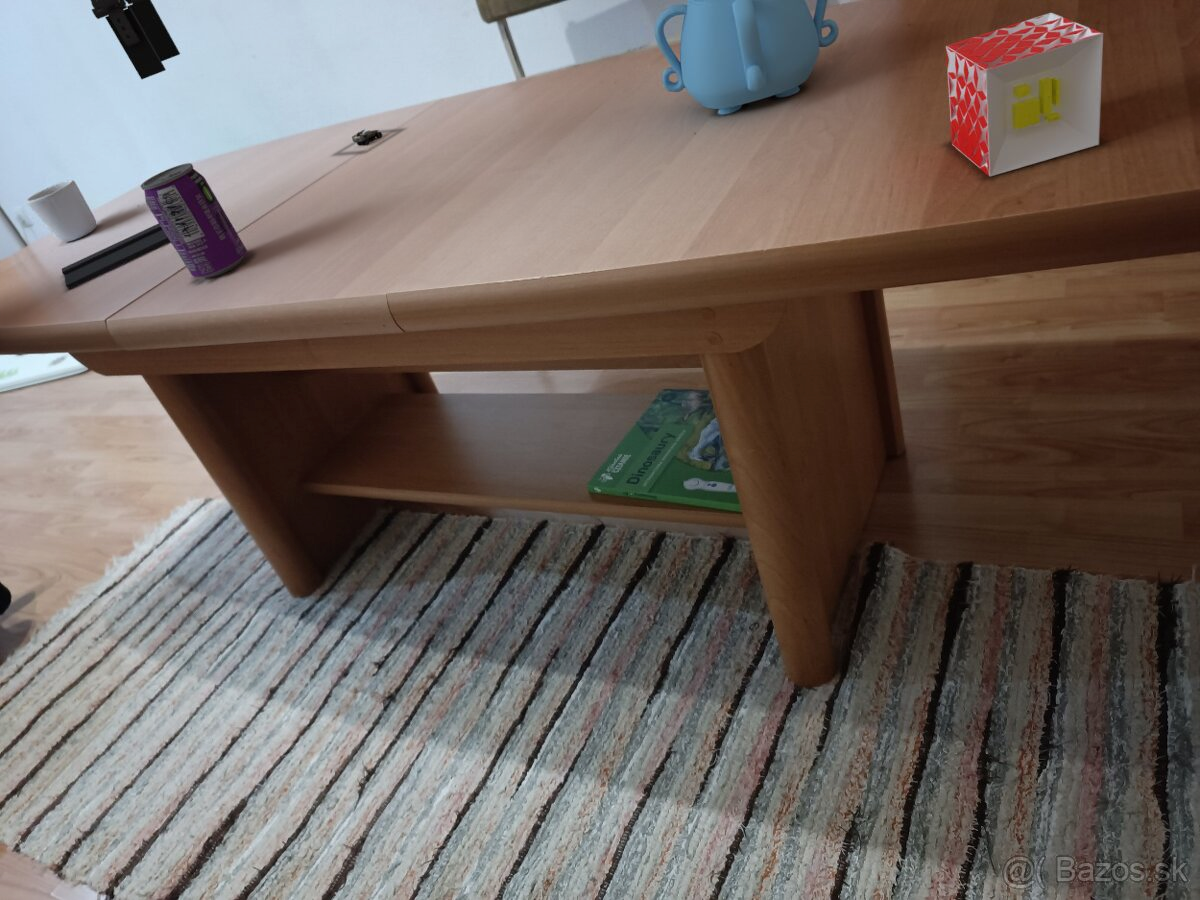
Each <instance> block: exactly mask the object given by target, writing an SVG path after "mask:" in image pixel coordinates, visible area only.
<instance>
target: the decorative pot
mask: <svg viewBox="0 0 1200 900" xmlns="http://www.w3.org/2000/svg"><path fill="white" fill-rule="evenodd" d="M815 4H816V5H815V10H814V15H812V13H811V11H810V8H809V7H808V4H807V3H806V1H805V0H687V2H686V4H684V3H682V4H681V3H680V4H679V3H678V4H673V5H671V6H669V7H667V8H666V9H665V10H664V11H663V12H662V13H661V14H660V15H659V16H658V18H657V20H656V22H655V25H654V39H655V41H656V44H657V46H658V48H659V50H660V51H661V53H662V55H663V56H664V58H665V59H666V61H667V62H668V63H669V65H670V67H667V68H665V70H664V71H663V73H662V76H661V83H662V85H663V87H664V89H665V90H667V91H668V92H672V93H678V92H681V91H683V90H684V89H685V91H687V93H689V94H690V95H691V97H692V98H694V100H696V102H698V103H699V104H700V105H702V106H703V107H705V108H707V109H714V110H718V111H717V114H718V115H728V114H729V115H730V114H732V113H734V112H737V111H739V110H740V109H741V108H742V105H745V104H749V103H753V102H756V101H760V100H763V99H766V98H770V97H773V96H775V97H776V98H786V97H789V96H792V95H795V94H797V93H798V92H799V91H800V90H801V89H800V87H799V86H800V85H802V84H803V83H805V82H806V81H807V80H808V79H809V77H810V76H811V73H812V72H813V69H814V67H815V64H816V62H817V60H818V57H819V54H820V48H822V49H823V48H827V47H829V46H831V45H832V44H834V43H835V42H836V41H837V39H838V37H839V27H838V24H837V22H836V20H833V19H831V18H827V19H824V18H825V15H826V11H827V10H826V9H827V4H828V0H816V3H815ZM682 15H684V16H683V22H682V27H681V34H680V35H681V36H680V44H679V58H678V57H677V56H676V54H675V52H674V51H673V49H672V48H671V46H670V44H669V43H668V41H667V37H666V35H665V30H664V28H665V25H666V23H667V22H668V21H669V20H670V19H672V18H674V17H677V16H682ZM824 28H829V30H830V31H829V33H828V34H827V35H825V36H823V29H824ZM673 74H676V77H677V81H676V82H673V81H671V80H670V76H671V75H673Z"/></svg>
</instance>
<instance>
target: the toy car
mask: <svg viewBox="0 0 1200 900" xmlns="http://www.w3.org/2000/svg"><path fill="white" fill-rule="evenodd" d="M382 137H383V132H381V131H379V129H375V130H374V129H373V130H371V129H367V130H366V128H364V129H361V130H360V131H358V132H357V133H356V134H354V135H352V136H351V139H352V142H353V143H354V144H355V143H356V145H357V146H359V147H360V146H361V147H362V146H369V145H370V144H371V143H372V142H373V141H375V140H378V139H381V138H382Z"/></svg>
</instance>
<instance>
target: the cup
mask: <svg viewBox="0 0 1200 900" xmlns="http://www.w3.org/2000/svg"><path fill="white" fill-rule="evenodd" d="M25 203H26V204H27V206H28V207H29V208H30V209H31V210H32V211H33V213H34V214H35V215H36V216H37V217H38V218H39V220H40V221H41V222H42V223H43V224H44V225H45V227H46V228H47V229H48V230H49V231H50V232H51V233H52V234H53V235H54V237H55V238H56V239H58V240H59V241H61V242H64V243H65V242H67V243H68V242H72V241H75V240H78V239H81V238H83V237H85V236H87V235H88V234H90V233H92V232H93V231H94V230H95V229H96V228H97V219H96V217H95V215H94V214H93V211H92V210H91V208H90V206H89V204H88V202H87V201H86V200H85V197H84V195H83V194H82V192H81V190H80V188H79V186H78V184H77V183H76V181H75V180H73V179H68V180H65V181H61V182H59V183H56V184H52V185H51V186H49V187H46V188H44V189H42V190H40V191H38V192H36V193H34V194H32V195H31V196H29V197H28V198H27V199H26V202H25Z"/></svg>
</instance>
